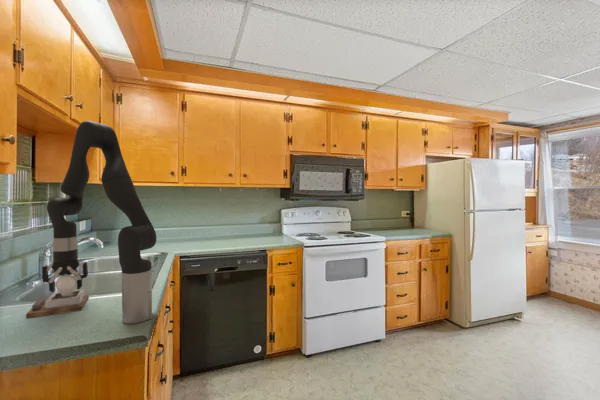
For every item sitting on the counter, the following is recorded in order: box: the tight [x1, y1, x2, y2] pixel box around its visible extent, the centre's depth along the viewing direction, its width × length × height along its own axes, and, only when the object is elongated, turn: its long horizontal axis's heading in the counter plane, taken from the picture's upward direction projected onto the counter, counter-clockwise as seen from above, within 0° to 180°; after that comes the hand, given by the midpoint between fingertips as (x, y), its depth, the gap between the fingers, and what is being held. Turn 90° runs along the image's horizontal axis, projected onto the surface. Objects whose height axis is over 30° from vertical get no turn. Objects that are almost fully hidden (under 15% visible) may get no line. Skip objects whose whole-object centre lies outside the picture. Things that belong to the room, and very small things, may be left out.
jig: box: [25, 288, 90, 319], centre depth 113 cm, size 16×14×4 cm
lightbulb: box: [55, 274, 77, 298], centre depth 113 cm, size 6×6×11 cm
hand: (66, 290), depth 113 cm, fingers open, 7 cm apart
